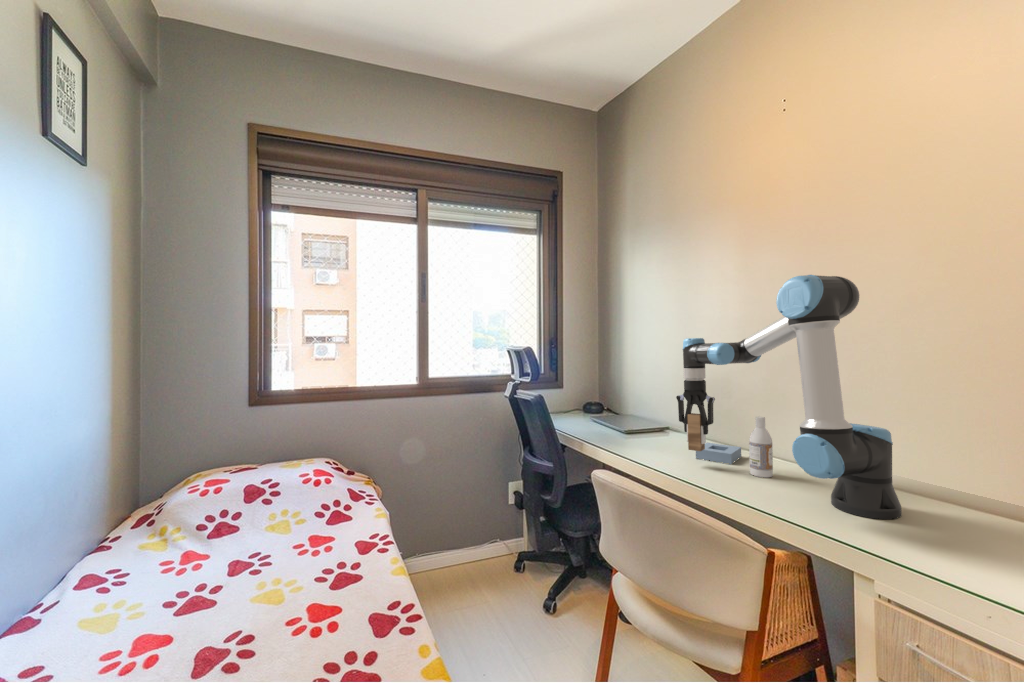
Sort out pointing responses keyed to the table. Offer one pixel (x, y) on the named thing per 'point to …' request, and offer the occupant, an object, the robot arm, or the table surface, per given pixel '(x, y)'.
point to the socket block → (719, 453)
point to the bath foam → (761, 450)
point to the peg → (695, 432)
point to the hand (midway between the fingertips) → (696, 442)
